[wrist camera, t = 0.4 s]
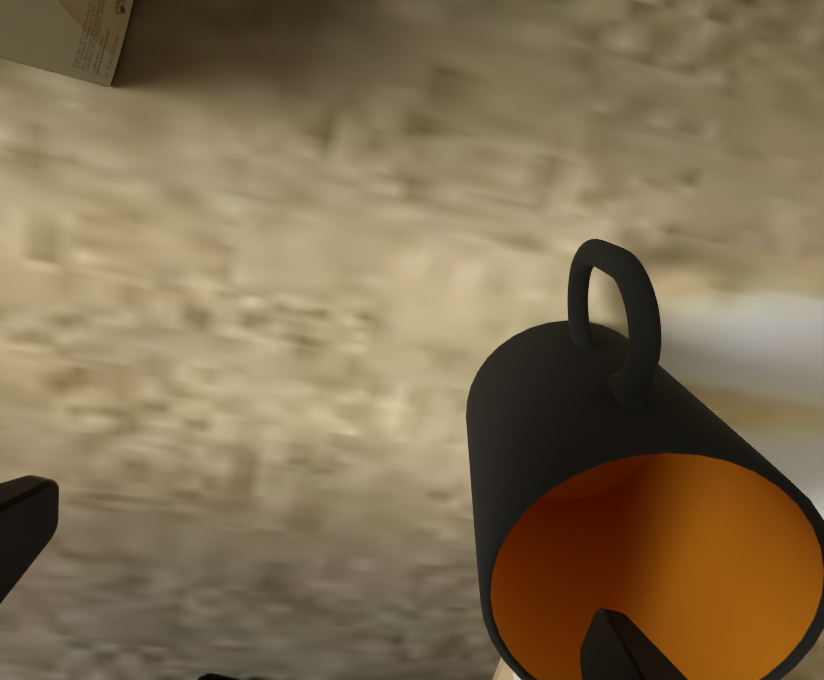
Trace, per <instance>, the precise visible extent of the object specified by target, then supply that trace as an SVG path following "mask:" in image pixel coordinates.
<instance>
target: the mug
mask: <svg viewBox="0 0 824 680" xmlns="http://www.w3.org/2000/svg"><path fill="white" fill-rule="evenodd" d="M594 266H595V267H597V268H598V269H600V270H602V271H603V272H605V273H607V274H608V275H610V276H611V277H613V278H614V280H615V281H616V283H617V285H618V287H619V290H620V292H621V295H622V298H623V301H624V305H625V309H626V314H627V321H628V332H629V339H627V338H626V337H624V336H623V335H621V334H620V333H618V332H616V331H614V330H611V329H609V328H606V327H604V326H601V325H597V324H592V323H589V316H588V288H589V280H590V275H591V271H592V269H593V267H594ZM660 351H661V323H660V315H659V309H658V304H657V299H656V296H655V292H654V289H653V287H652V284H651V281H650V279H649V277H648V275H647V273H646V271H645V269H644V267H643V265H642V264H641V263H640V261H639V260H638V259H637V258H636V257H635V255H633V254H632V253H631V252H630V251H628V250H626V249H624V248H621V247H619V246H617V245H614V244H612V243H609V242H606V241H603V240H599V239H591V240H588V241H586V242H585V243H583V244H582V245H581V246H580V248H579V249H578V250H577V252H576V254H575V256H574V258H573V261H572V264H571V269H570V274H569V283H568V321H560V322H552V323H546V324H543V325H539V326H536V327H532V328H529V329H527V330H525V331H523V332H521V333H519V334H517V335H515V336H513V337H512V338H510V339H509V340H507V341H506V342H505V343H503V344H502V345H500V346H499V347H498V348H497V349H496V350H495V351H494V352H493V353H492V354H491V355H490V356H489V357H488V358H487V359H486V361H485V362H484V364H483V365H482V366H481V368H480V369H479V371H478V372H477V374H476V377H475V379H474V381H473V383H472V385H471V388H470V392H469V396H468V400H467V411H466V422H467V435H468V449H469V462H470V476H471V489H472V502H473V515H474V528H475V541H476V554H477V566H478V578H479V589H480V599H481V606H482V613H483V619H484V622H485V625H486V628H487V630H488V633H489V636H490V639H491V641H492V643H493V644H494V646H495V647H496V649H497V651H498V652H499V654H500V656H501V657H502V659H503V660H504V662H505V663H506V664H507V665H508V666H509V667H510V668H511V669H512V670H513V672H514V673H515V674H516V675H517V676H518V677H519V678H520V679H521V680H582V675H581V667H580V649H581V645H582V642H583V640H584V637H585V635H586V633H587V630H588V628H589V626H590V623H591V621H592V618H593V616H594V614H595V612H596V611H597V610H598V609H601V608H604V609H609V610H613V611H617V612H621V613H624V614H625V615H626V616H627V617H629V619H630V620H631V621H632V622H633V623H634V624H635V625H636V626H637V627H638V628H639V629H640V630H641V631H642V632H643V633H644V634H645V635H646V636H647V637H648V638H649V639H650V640H651V641H652V643H653V644H654V645H655V646H656V647H657V648H658V649H659V650H660V651H661V652H662V653H663V654H664V655H665V656H666V657H667V658H668V659H669V660H670V661H671V662H672V663H673V664H674V665H675V666H676V668H677V669H678V670H679V671H680V672H681V673H682V674H683V675H684V676H685V677H686V678H687V679H688V680H780V679H781V678H783V677H784V676H785V675H786V674H787V673H789V672H790V671H791V670H792V669H793V668H795V667H796V666H797V665H798V663H799V662H800V661H801V660H802V659H803V658H804V656H805V655H806V654H807V653H808V652H809V651H810V649H811V648H812V647H813V646H814V644H815V643H816V641H817V639H818V637H819V636H820V634H821V632H822V631H823V629H824V520H823V518H822V517H821V515H820V514H819V512H818V511H817V509H816V508H815V506H814V505H813V504H812V502H811V501H810V499H809V498H808V497H806V496H805V495H804V494H803V493H802V492H801V491H800V490H799V489H798V488H797V487H796V486H795V485H794V484H793V483H792V482H791V481H790V480H789V479H787V478H786V477H785V476H784V475H783V474H782V473H781V472H780V471H779V470H777V469H776V468H775V467H774V466H773V465H772V464H771V463H770V462H769V461H767V460H766V459H765V458H764V457H763V456H762V455H761V454H760V453H759V452H757V451H756V450H755V449H754V448H753V447H752V446H751V445H750V444H748V443H747V442H746V441H745V440H744V439H743V438H742V437H740V436H739V435H738V434H737V433H736V432H735V431H734V430H732V429H731V428H730V427H729V426H728V425H727V424H726V423H725V422H723V421H722V420H721V419H720V418H719V417H718V416H717V415H715V414H714V413H713V412H712V411H711V410H710V409H709V408H707V407H706V406H705V405H704V404H703V403H702V402H701V401H699V400H698V399H697V398H696V397H695V396H694V395H693V394H692V393H690V392H689V391H688V390H687V389H686V388H685V387H684V386H682V385H681V384H680V383H679V382H678V381H677V380H676V379H674V378H673V377H672V376H671V375H670V374H669V373H668V372H666V371H665V370H664V369H663V368H662V367H661V366H660V365H658V362H659V358H660Z"/></svg>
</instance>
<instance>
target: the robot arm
mask: <svg viewBox="0 0 824 680" xmlns="http://www.w3.org/2000/svg"><path fill="white" fill-rule="evenodd" d="M58 507H59V486H58V484H57V482H56V481H54V480H52V479H48V478H43V477H39V476H34V475H28V476H24V477H21V478H17V479H14V480H10V481H7V482H3V483H0V604H1V602H2V601H3V600H4V598H5V597H6V596H7V595H8V593H9V592H10V591H11V589H12V588H13V587H14V586H15V584H16V583H17V582H18V580H19V579H20V578H21V577H22V575H23V574H24V573H25V572H26V570H27V569H28V568H29V566H30V565H31V564H32V563H33V561H34V560H35V559H36V557H37V556H38V555H39V554H40V552H41V551H42V550H43V549H44V547H45V546H46V545H47V543H48V542H49V541H50V539H51V538H52V537H53V535H54V533H55V531H56V528H57V525H58ZM580 667H581V675H582V680H688V679H687V678H686V677H685V676H684V675H683V674H682V673H681V672H680V671H679V670H678V669H677V668H676V666H675V665H674V664H673V663H672V662H671V661H670V660H669V659H668V658H667V657H666V656H665V655H664V654H663V653H662V652H661V651H660V650H659V649H658V648H657V647H656V646H655V645H654V644H653V643H652V641H651V640H650V639H649V638H648V637H647V636H646V635H645V634H644V633H643V632H642V631H641V630H640V629H639V628H638V627H637V626H636V625H635V624H634V623H633V622H632V621H631V620H630V619H629V617H627V616H626V615H625V614H624V613H621V612H617V611H613V610H609V609H604V608H601V609H598V610H597V611H596V612H595V614H594V616H593V618H592V621H591V623H590V626H589V628H588V630H587V633H586V635H585V637H584V640H583V642H582V645H581V649H580ZM198 680H220V679H216V678H212V677H208V676H202V677H200V678H198Z"/></svg>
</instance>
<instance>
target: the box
mask: <svg viewBox="0 0 824 680" xmlns="http://www.w3.org/2000/svg"><path fill="white" fill-rule="evenodd" d="M132 5H133V0H0V58H2V59H5V60H9V61H13V62H16V63H20V64H24V65H28V66H31V67H35V68H39V69H43V70H46V71H50V72H53V73H57V74H61V75H65V76H69V77H72V78H76V79H79V80H83V81H87V82H91V83H94V84H97V85H101V86H104V87H109V86H110V85H111V82H112V79H113V76H114V72H115V69H116V66H117V62H118V59H119V55H120V52H121V48H122V44H123V41H124V37H125V33H126V29H127V25H128V21H129V17H130V12H131V8H132Z"/></svg>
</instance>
